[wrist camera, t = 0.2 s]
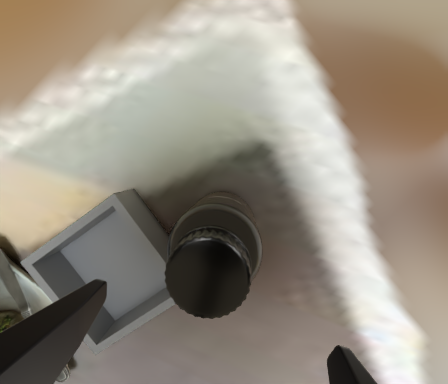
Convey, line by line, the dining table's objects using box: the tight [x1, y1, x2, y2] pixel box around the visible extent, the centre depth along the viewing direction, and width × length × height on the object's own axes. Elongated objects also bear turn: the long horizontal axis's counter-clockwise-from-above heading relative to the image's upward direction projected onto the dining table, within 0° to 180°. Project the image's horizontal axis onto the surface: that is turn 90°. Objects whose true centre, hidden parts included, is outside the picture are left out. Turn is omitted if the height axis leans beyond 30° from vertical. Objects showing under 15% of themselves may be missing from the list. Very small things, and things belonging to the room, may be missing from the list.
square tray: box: [20, 189, 175, 355], centre depth 22 cm, size 12×12×4 cm
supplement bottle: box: [164, 192, 263, 319], centre depth 18 cm, size 7×7×12 cm
